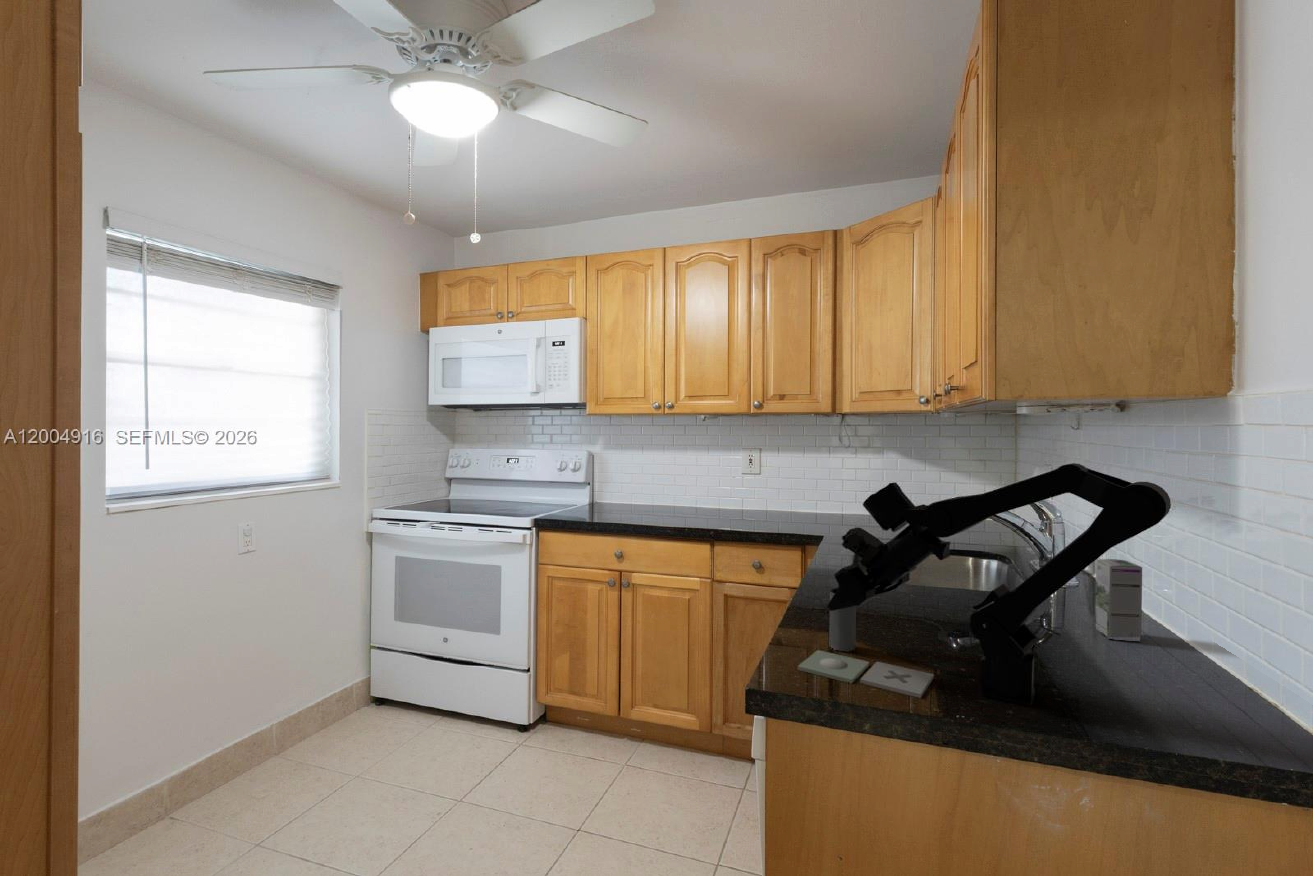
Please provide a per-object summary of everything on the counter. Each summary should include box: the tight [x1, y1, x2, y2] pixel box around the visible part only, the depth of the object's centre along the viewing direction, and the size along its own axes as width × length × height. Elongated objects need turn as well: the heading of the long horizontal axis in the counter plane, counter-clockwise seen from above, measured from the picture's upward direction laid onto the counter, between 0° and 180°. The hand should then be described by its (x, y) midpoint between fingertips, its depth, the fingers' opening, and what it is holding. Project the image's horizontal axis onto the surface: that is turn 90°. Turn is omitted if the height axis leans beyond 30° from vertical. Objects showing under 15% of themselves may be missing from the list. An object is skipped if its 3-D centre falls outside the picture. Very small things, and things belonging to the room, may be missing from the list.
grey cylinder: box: [828, 587, 857, 653], centre depth 114 cm, size 4×4×10 cm
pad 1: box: [797, 649, 870, 684], centre depth 105 cm, size 9×9×1 cm
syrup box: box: [1094, 558, 1143, 638], centre depth 122 cm, size 6×6×14 cm
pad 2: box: [859, 661, 935, 699], centre depth 100 cm, size 9×9×1 cm
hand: (841, 603), depth 114 cm, fingers open, 9 cm apart
